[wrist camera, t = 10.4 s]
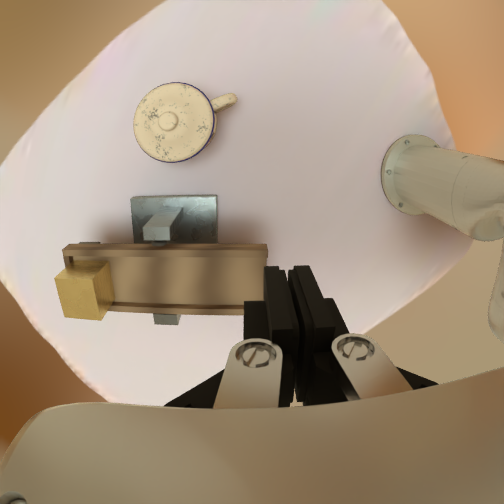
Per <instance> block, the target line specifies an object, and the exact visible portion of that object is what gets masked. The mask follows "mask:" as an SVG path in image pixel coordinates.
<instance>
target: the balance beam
mask: <svg viewBox="0 0 504 504" xmlns="http://www.w3.org/2000/svg"><path fill="white" fill-rule="evenodd" d="M151 243H152V244H100V242H80V243H79V244H69V245H68V246H66V247H65V248H64V249H62V252H63V257H64V262H65V267H67V266H68V265H69V264H70V263H71V262H72V261H73V260H89V261H109V265H110V271H111V277H112V283H113V288H114V294H115V300H114V301H113V303H112V305H111V306H110V308H109V309H108V311H117V312H134V313H156V314H185V315H244V301H263V273H264V266H266V262H267V258H268V249H267V245H266V244H167V240H154V241H152V242H151Z"/></svg>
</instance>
